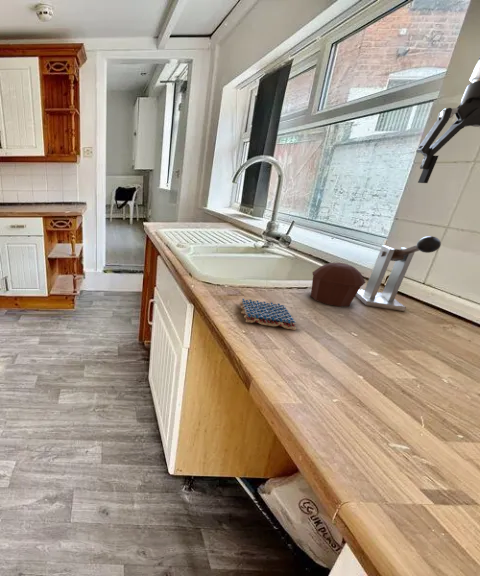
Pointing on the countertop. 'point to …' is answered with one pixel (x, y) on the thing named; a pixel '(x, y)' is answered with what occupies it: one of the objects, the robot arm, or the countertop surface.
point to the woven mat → (267, 314)
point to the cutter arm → (418, 247)
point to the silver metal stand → (393, 283)
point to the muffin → (336, 284)
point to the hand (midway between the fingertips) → (447, 184)
